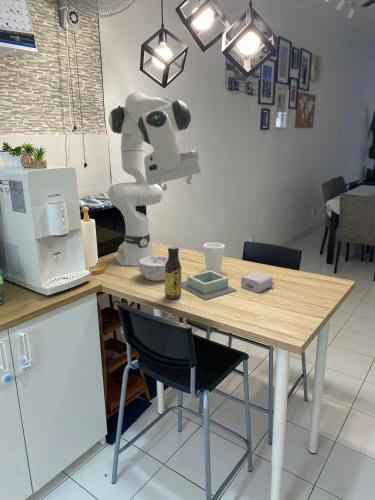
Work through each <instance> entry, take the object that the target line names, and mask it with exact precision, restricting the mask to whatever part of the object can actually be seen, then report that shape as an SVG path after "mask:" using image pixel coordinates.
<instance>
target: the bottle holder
mask: <svg viewBox="0 0 375 500" xmlns="http://www.w3.org/2000/svg"><path fill="white" fill-rule="evenodd" d="M186 279H187V280H186V281H187V285H188V286H190V287H192V288H194V289H196V290H197V291H199V292H201V293H203V294H206V293H209V292H213V291H216V290H220V289H223V288H227V287H228V286H229V277H227V276H225V275H223V274H221V273H220V274H218V273H216V272H213V271H211V270H210V271H206V270H205V271H203V272H199V273H194V274H191V275H187V276H186ZM206 281H210V282H207V283H204V282H206Z"/></svg>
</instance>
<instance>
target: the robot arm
mask: <svg viewBox="0 0 375 500" xmlns="http://www.w3.org/2000/svg"><path fill="white" fill-rule="evenodd" d="M124 104H125V106H121V105H118V107H116V108H115V107H114V108H112V110H111V111H110V113H109V115H108V125H109V127H110V129H111V131H112V133H115V134H118V135H121V141H120V155H121V167H122V170H123V171H124V173H126V174H128V175H129V176H132V177H134V179H135V182H119V183H115V184H112V185H111V186H110V187H109V189H108V194H107V195H108V196H107V198H108V200H109V202H110V203H111V205H113V206H114V207H116V208H117V209H118V210H119V211H120V212H121V215H122V216H123V219H124V225H125V226H124V227H125V233H124V241H123V242H122V243H121V244H120V245H119V246H118V249H117V254H114V256H113V257H114V259H115V260H116V261H117V262H118V264H120V265H121V266H132V267H133V266H134V267H139V261H140V260H141V259H143V258H145V257H151V256H154V252H153V243H151V234H150V231H149V229H150V228H149V225H150V224H149V218H148V216H147V215H146V214H144V213H142V212H141V211H138V210H136V209H137V208H136V207H138V206H139V207H140V206H141V207H143V206H151V205H156V204H160V203H161V202H162V199H163V197H164V191H168V188H167V182H171V181H174V180H178V179H182V178H185V177H188V178H186V179H185V180H186V184H187V185H191V184H192V179H193V175H197V174H200V173H201V167H200V162H199V153H198V152H197V151H194V150H189V151H184V152H180V147H179V145H178V142H177V140H176V133H178V132H180V131H184V130H187V129H188V127H189V126H190V123H191V121H192V116H191V112H190V110H189V107H188V106H187V105H186V103H185V102H183V101H181V100H178V99H176V100H171V99H168V98H165V97H155V96H149V95H147V94H145V93H143V92H139V91H134V92H131V93H130V94H128V96H127V97H126V98H125V103H124ZM145 143H146V144H148V145H150V146H151V147H152V149H153V152H151V153H149V154H148V155H146V147H145V146H146V145H145Z"/></svg>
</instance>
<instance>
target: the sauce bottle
mask: <svg viewBox="0 0 375 500" xmlns="http://www.w3.org/2000/svg"><path fill="white" fill-rule="evenodd" d="M179 251H180V248H179V246H173V245H171V246H168V247H167V252H168V256H167V257H168V261H167V262H166V265H165V280H164V293H165V298H166V299H169V300H177V299H179V298H180V297H181V295H182V294H181V293H182V287H181V282H182V265H181V263H180V260H179Z"/></svg>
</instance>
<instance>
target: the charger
mask: <svg viewBox="0 0 375 500" xmlns="http://www.w3.org/2000/svg"><path fill="white" fill-rule="evenodd" d="M273 280H274V276H273V275H271V274H267V273H260V272H257V271H256V272H255V271H254V272H252V273H250V274H248V275H245V276H243V277H241V281H240V287H242V288H243V289H247V290H250V291H253V292H256V293H261V292H263V291H265V290H267V289H269V288H271V287H272V286H273Z"/></svg>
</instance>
